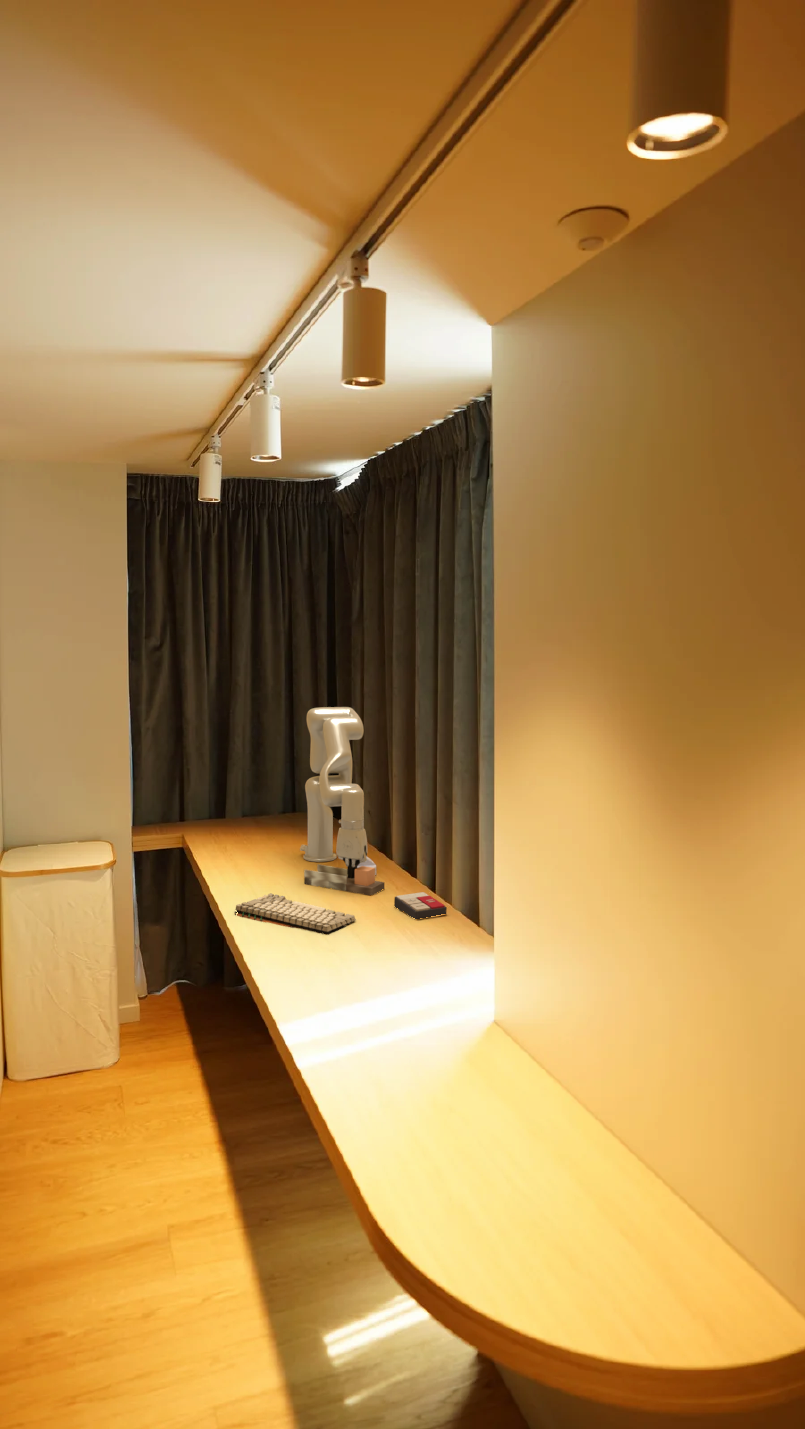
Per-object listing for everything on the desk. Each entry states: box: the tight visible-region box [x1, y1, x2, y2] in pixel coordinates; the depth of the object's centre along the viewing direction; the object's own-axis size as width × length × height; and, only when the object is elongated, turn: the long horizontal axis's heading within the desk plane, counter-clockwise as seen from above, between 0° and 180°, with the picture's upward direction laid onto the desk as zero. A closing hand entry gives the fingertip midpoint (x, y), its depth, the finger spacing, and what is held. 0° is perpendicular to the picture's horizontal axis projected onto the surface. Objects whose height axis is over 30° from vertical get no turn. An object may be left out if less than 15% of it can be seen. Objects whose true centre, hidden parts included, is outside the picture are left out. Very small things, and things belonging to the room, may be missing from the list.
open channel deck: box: [303, 864, 385, 896], centre depth 330 cm, size 27×9×5 cm, turn 61°
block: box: [355, 866, 376, 886], centre depth 326 cm, size 5×5×5 cm
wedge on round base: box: [357, 855, 377, 876], centre depth 348 cm, size 9×7×13 cm
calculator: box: [393, 891, 447, 920], centre depth 304 cm, size 11×4×15 cm
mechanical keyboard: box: [235, 893, 357, 936], centre depth 297 cm, size 38×19×3 cm, turn 58°
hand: (352, 877), depth 328 cm, fingers closed
